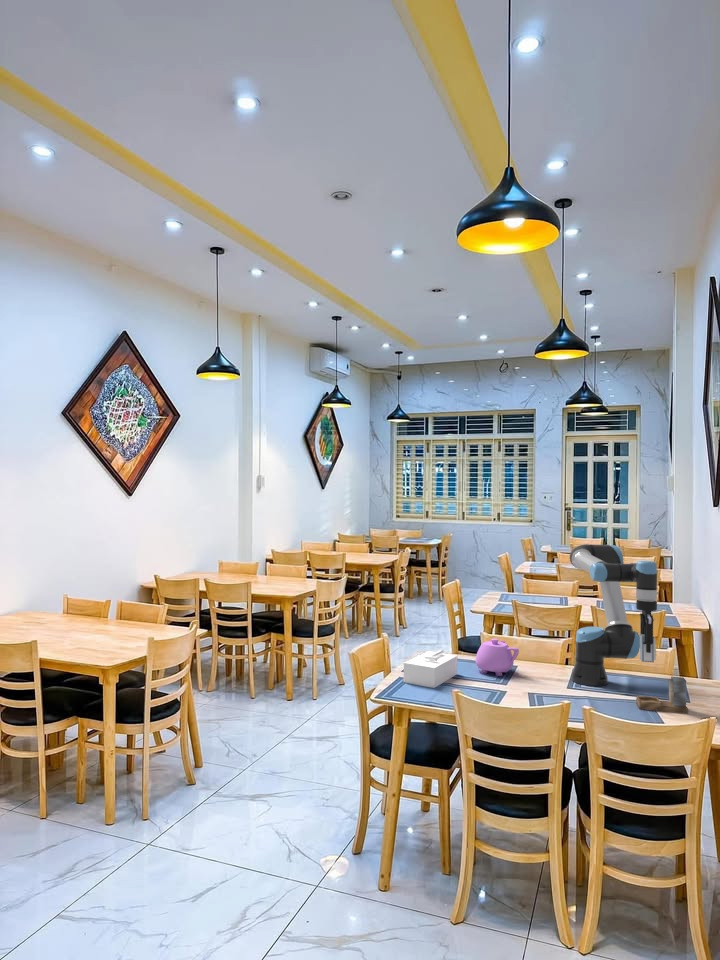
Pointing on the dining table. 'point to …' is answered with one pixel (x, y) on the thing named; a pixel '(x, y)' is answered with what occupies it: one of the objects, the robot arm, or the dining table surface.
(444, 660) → the tissue box
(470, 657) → the dining table surface
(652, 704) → the wooden condiment holder
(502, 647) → the teapot
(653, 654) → the light grey block
